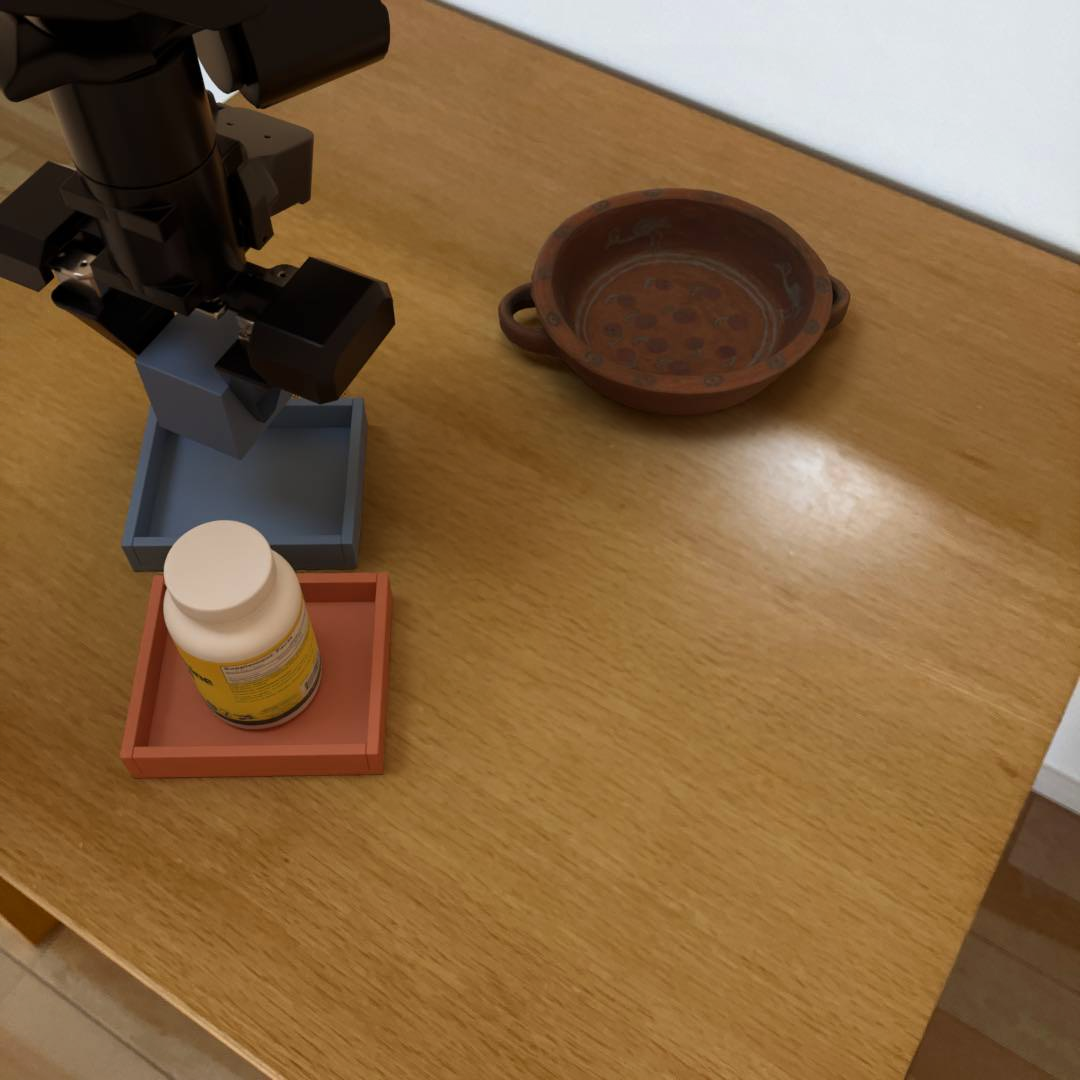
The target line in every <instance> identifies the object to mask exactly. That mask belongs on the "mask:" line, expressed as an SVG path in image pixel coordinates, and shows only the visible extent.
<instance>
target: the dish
mask: <svg viewBox="0 0 1080 1080" xmlns="http://www.w3.org/2000/svg"><path fill="white" fill-rule="evenodd" d="M530 278H531V279H530V280H531V281H528V282H526V283H523V284H520V285H518V286H515V287H514V288H513V289H511V290H510V291H508V292H506V294H505V295H504V296H503V297H502V298H501V300H500V302H499V305H498V308H497V315H498V319H499V320H498V324H499V327H500V329H501V332H502V333H503V334H504V336H505V337H506V338H507V340H508V341H509V342H510V343H511V344H513V345H515V346H516V347H518V348H519V349H521V350H523V351H526V352H530V353H533V354H539V355H543V356H547V357H552V358H556V359H559V360H562V361H563V362H565V364H567V365H568V366H569V367H570V368H571V370H573V371H574V373H575V374H576V375H578V376H579V377H580V378H581V379H582V380H583V381H584V382H585V383H586V384H588V385H589V386H590V387H592V388H593V389H594V390H595V391H597V392H598V393H600V394H601V395H603V396H605V397H607V398H609V399H610V400H612V401H614V402H616V403H619V404H621V405H624V406H627V407H630V408H633V409H636V410H640V411H642V412H643V411H644V412H648V413H654V414H658V415H659V414H660V415H661V414H662V415H670V416H693V415H703V414H704V415H705V414H711V413H715V412H718V411H722V410H726V409H729V408H732V407H735V406H737V405H739V404H741V403H743V402H745V401H747V400H749V399H751V398H753V397H754V396H756V395H758V394H759V393H761V392H762V391H763V390H764V389H766V388H767V387H768V386H770V385H771V384H772V383H773V382H775V381H776V380H777V379H778V378H779V377H780V376H781V375H782V374H783V373H784V372H785V371H787V370H789V369H790V368H792V367H793V366H795V364H797V363H798V362H799V361H801V360H802V359H803V358H804V357H805V356H807V355H808V353H810V351H811V350H812V349H813V348H814V347H815V346H816V344H817V343H818V341H819V340H820V338H821V337H822V335H823V334H824V333H827V332H829V331H832V330H834V329H835V328H837V327H838V326H839V325H840V324H841V323H843V321H844V319H845V317H846V314H847V312H848V309H849V306H850V302H851V293H850V291H849V289H848V288H847V286H846V285H845V284H844V282H842V281H841V280H840V279H839V278H837V277H835V276H834V275H832V274H831V273H829V270H828V268H827V267H826V264H825V263H824V261H823V260H822V259H821V257H820V256H819V254H818V253H817V252H816V251H815V250H814V248H813V247H811V245H810V244H809V243H808V242H807V241H806V240H805V238H803V236H802V235H800V234H799V232H797V231H796V230H795V229H794V228H793V227H792V226H790V225H789V224H788V223H786V222H785V221H784V220H783V219H781V218H780V217H779V216H777V215H775V214H774V213H773V212H771V211H768V210H765V209H763V208H761V207H759V206H757V205H755V204H753V203H750V202H748V201H746V200H743V199H741V198H738V197H736V196H732V195H728V194H725V193H721V192H719V191H713V190H708V189H699V188H683V187H661V188H650V189H649V188H648V189H641V190H640V189H639V190H633V191H629V192H624V193H620V194H616V195H613V196H610V197H608V198H607V197H606V198H603V199H600V200H598V201H596V202H593V203H591V204H590V205H588V206H586V207H584V208H582V209H580V210H578V211H576V212H575V213H573V214H572V215H570V216H569V217H567V218H566V219H564V220H563V221H562V222H561V223H560V224H559V225H558V226H557V227H556V228H555V229H553V231H552V232H551V233H550V234H549V235H548V236H547V238H546V240H545V241H544V242H543V244H542V246H541V247H540V250H539V252H538V254H537V257H536V260H535V263H534V267H533V270H532V271H531V277H530ZM525 309H535V312H536V315H537V316H538V318H539V320H540V322H541V323H542V326H541V327H538V328H537V327H536V328H533V327H529V326H526V325H524V324H522V323H521V322H518V321H517V320H516V319H514V315H515V314H517V313H518V312H519V311H522V310H525Z"/></svg>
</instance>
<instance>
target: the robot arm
mask: <svg viewBox="0 0 1080 1080" xmlns="http://www.w3.org/2000/svg"><path fill="white" fill-rule="evenodd" d="M390 22H391V20H390V13H389V9H388V7H387V6H386V4H385V3H383V2H382V0H0V92H1V94H2V95H3V96H4V98H5V99H6V100H7V101H9V102H11V103H21V102H24V101H26V100H28V99H31V98H35V97H36V96H39V95H42V94H44V93H47V96H48V98H49V102H50V104H51V107H52V109H53V112H54V115H55V117H56V120H57V123H58V125H59V128H60V130H61V133H62V136H63V138H64V142H65V144H66V146H67V149H68V151H69V154H70V157H71V159H72V162H73V165H74V167H73V166H71V165H67V164H63V163H59V162H55V161H51V160H47V161H46V162H45V163H43V164H42V165H41V166H40V167H39V168H38V169H37V170H35V172H33V174H31V175H30V176H29V177H28V178H27V179H25V181H23V182H22V183H21V184H20V185H19V186H18V187H17V188H16V189H14V190H13V191H12V192H11V193H10V194H9V195H8V196H6V197H5V198H4V199H3V200H2V201H1V202H0V278H1V279H4V280H6V281H8V282H11V283H14V284H16V285H19V286H22V287H24V288H27V289H29V290H31V291H34V292H37V293H40V292H41V291H42V290H43V289H45V288H46V287H47V286H48V285H49V284H50V283H51V282H52V281H53V280H54V279H55V278H57V280H58V282H59V284H58V285H57V286H56V287H55V288H54V289H53V290H52V291H51V293H50V299H51V301H52V303H53V304H54V305H55V306H56V307H57V308H58V309H61V310H63V311H65V312H67V313H69V314H70V315H72V316H73V317H74V318H76V319H78V320H79V321H80V322H82V323H83V324H85V325H86V326H88V327H89V328H91V329H92V330H94V332H96V333H98V334H99V335H100V336H102V337H103V338H105V339H106V340H107V341H109V342H110V343H112V344H114V346H116V347H118V348H119V349H120V350H122V351H123V352H125V353H126V354H127V355H129V356H130V357H131V358H132V359H134V360H135V359H136V358H137V357H138V356H139V355H140V354H141V353H142V351H143V350H144V349H145V348H146V347H147V346H148V345H149V344H150V343H151V342H152V341H153V339H154V338H155V337H156V336H157V335H158V334H159V333H160V332H161V331H162V330H163V329H164V327H165V326H166V325H167V324H168V323H169V322H170V321H171V320H172V319H173V318H174V317H175V315H176V314H177V313H179V314H181V315H184V316H186V317H188V316H189V315H190V314H191V313H192V312H196V313H198V314H201V315H203V316H206V317H208V318H211V319H215V320H217V319H220V318H221V317H222V316H223V315H224V314H225V313H226V312H227V310H230V311H232V312H235V313H238V314H237V315H236V318H237V322H238V326H239V327H240V328H242V329H244V330H241V331H240V332H239V333H238V338H237V339H236V341H235V342H234V343H233V344H232V345H231V346H230V348H229V349H228V350H227V351H226V352H225V353H224V355H223V356H222V357H221V358H220V359H219V360H218V362H217V363H216V364H215V365H214V367H215V369H216V371H217V372H218V373H219V374H220V376H221V377H222V378H223V380H224V381H225V382H226V383H227V384H228V386H229V387H230V388H231V390H232V391H233V392H234V393H235V395H236V396H237V397H238V399H239V400H240V401H241V403H242V404H243V405H244V406H245V408H246V409H247V410H248V411H249V412H250V413H251V414H252V415H253V416H254V417H255V419H256V420H257V421H259V422H262V423H265V422H266V421H267V420H268V419H269V418H270V416H271V415H272V414H273V413H274V411H275V409H276V406H277V403H278V399H279V395H280V392H281V389H282V390H284V391H287V392H289V393H292V394H293V396H294V395H295V396H297V397H298V398H304V399H307V400H309V401H312V402H314V403H317V404H319V405H321V404H325V403H329V402H333V401H337V400H338V399H339V398H342V395H343V394H344V393H345V392H346V391H347V389H348V387H350V385H351V384H352V383H353V381H354V380H355V378H356V377H357V376H358V375H359V373H360V372H361V371H362V369H363V368H364V367H365V365H366V364H367V363H368V361H369V360H370V359H371V358H372V356H373V355H374V353H375V352H376V351H377V350H378V348H379V347H380V346H381V344H382V343H383V341H384V340H385V339H386V337H388V335H389V334H390V333H391V331H392V330H393V329H394V327H395V326H396V317H395V316H396V315H395V306H394V300H393V296H392V295H393V294H392V292H391V290H390V286H389V283H388V282H386V281H383V280H380V279H379V278H376V277H373V276H370V275H367V274H366V273H363V272H359V271H356V270H354V269H351V268H348V267H346V266H343V265H340V264H337V263H334V262H332V261H329V260H326V259H323V258H319V257H314V256H308V257H307V259H306V260H305V261H304V262H303V263H302V265H301V266H300V267H297V266H295V265H293V264H288V263H281V264H276V265H274V266H272V267H269V268H267V267H264V266H262V265H258V264H256V263H253V262H251V261H249V260H247V257H246V253H247V252H249V250H250V249H253V250H256V251H261V250H262V249H263V248H264V247H265V246H266V245H267V243H268V242H269V241H270V240H271V239H272V238H273V237H274V236H275V233H274V228H273V223H272V217H274V216H276V215H278V214H280V213H282V212H284V211H286V210H287V209H289V208H291V207H294V206H295V205H298V204H299V205H302V206H303V205H304V204H307V203H308V202H310V200H311V198H312V185H313V183H312V182H313V166H314V165H313V163H314V147H315V146H314V145H315V134H314V132H313V131H312V130H310V129H309V128H307V127H304V126H302V125H298V124H296V123H292V122H289V121H287V120H283V119H281V118H278V117H274V116H271V115H269V114H266V113H263V112H260V111H257V110H259V109H260V110H265V109H268V108H271V107H274V106H275V105H278V104H281V103H283V102H285V101H287V100H290V99H292V98H295V97H297V96H299V95H302V94H304V93H307V92H309V91H312V90H314V89H317V88H319V87H321V86H324V85H326V84H329V83H331V82H333V81H337V80H338V79H341V78H343V77H345V76H348V75H350V74H353V73H355V72H358V71H360V70H363V69H364V68H367V67H369V66H372V65H374V64H377V63H379V62H381V61H382V60H384V59H385V57H386V56H387V54H388V52H389V48H390V43H391V23H390ZM201 65H202V66H201ZM201 67H202V68H203V69H204V71H205V73H206V75H207V76H208V78H210V80H211V82H212V83H213V84H214V85H215V87H216V88H217V89H218V90H219V91H220V92H221V93H223V94H225V95H230V94H232V93H235V92H238V91H239V93H240V94H241V95H242V97H243V98H244V99H245V100H246V101H247V102H248V103H249V104H250V105H252V106H253V107H255V109H257V110H254V109H251V108H247V107H240V106H239V107H238V106H231V105H229V104H226V103H223V102H220V101H218V102H217V100H216V98H215V95H214V93H213V92H212V91H211V90H210V89H207V88H206V85H205V81H204V77H203V73H202V69H201ZM55 275H56V276H55ZM175 313H176V314H175Z"/></svg>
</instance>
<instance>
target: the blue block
mask: <svg viewBox="0 0 1080 1080" xmlns="http://www.w3.org/2000/svg"><path fill="white" fill-rule="evenodd" d="M237 314H238V313H235V312H232V311H230V310H227V312H226V313H225V314H224V315H223V316H222V317H221V318H220V319H217V320H215V319H211V318H208V317H206V316H203V315H201V314H198V313H196V312H192V313H191V314H190V315H189V316H188V317H186V316H184V315H181V314H179V313H176V314H175V317H174V318H173V319H172V320H171V321H170V322H169V323H168V324H167V325H166V326H165V327H164V329H163V330H162V331H161V332H160V333H159V334H158V335H157V336H156V337H155V338H154V339H153V341H152V342H151V343H150V344H149V345H148V346H147V347H146V348H145V349H144V350H143V351H142V353H141V354H140V355H139V356H138V357H137V358H136V359H134V361H133V362H134V364H135V367H136V370H137V372H138V374H139V377H140V380H141V382H142V385H143V388H144V390H145V392H146V395H147V397H148V400H149V403H150V405H152V408H153V410H154V413H155V416H156V418H157V421H158V423H159V426H160V427H162V428H165V429H167V430H169V431H172V432H174V433H177V434H179V435H181V436H184V437H186V438H188V439H191V440H193V441H196V442H198V443H200V444H203V445H205V446H207V447H210V448H212V449H215V450H217V451H219V452H222V453H224V454H227V455H229V456H231V457H234V458H236V459H238V460H242V459H243V457H244V456H245V455H246V454H247V452H248V451H249V450H250V449H251V447H252V446H253V445H254V444H255V442H256V441H257V440H258V438H259V437H260V436H261V435H262V433H263V432H264V431H265V430H266V428H267V427H268V426H269V425H270V423H271V422H272V421H273V420H274V418H275V417H276V416H277V414H278V413H279V412H280V411H281V409H282V408H283V407H284V406H285V404H286V403H287V402H288V401H289V399H290V398H293V396H294V394H292V393H289V392H287V391H284V390H282V389H281V392H280V395H279V399H278V403H277V406H276V409H275V411H274V413H273V414H272V415H271V416H270V418H269V419H268V420H267V421H266V422H265V423H262V422H259V421H257V420H256V419H255V417H254V416H253V415H252V414H251V413H250V412H249V411H248V410H247V409H246V408H245V406H244V405H243V404H242V403H241V401H240V400H239V399H238V397H237V396H236V395H235V393H234V392H233V391H232V390H231V388H230V387H229V386H228V384H227V383H226V382H225V381H224V380H223V378H222V377H221V376H220V374H219V373H218V372H217V371H216V369H215V367H214V365H215V364H216V363H217V362H218V360H219V359H220V358H221V357H222V356H223V355H224V353H225V352H226V351H227V350H228V349H229V348H230V346H231V345H232V344H233V343H234V342H235V341H236V339H237V338H238V333H239V332H240V331H241V330H244V329H242V328H240V327H239V326H238V322H237V318H236V315H237Z"/></svg>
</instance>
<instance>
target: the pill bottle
mask: <svg viewBox="0 0 1080 1080" xmlns="http://www.w3.org/2000/svg"><path fill="white" fill-rule="evenodd" d="M296 574H297V573H296V572H295V569H293V568H292V567H291V566H290V564H289V563H288V562H287V561H286V560H285V559H284V558H283V557H282V556H281V555H279V554H278V553H277V552H275V551H273V550H272V549H271V548H270V546H269V543H268V542H267V540H266V539H265V538H264V536H263V535H262V534H261V533H260V532H258V531H257V530H256V529H254V528H253V527H251V526H249V525H247V524H244V523H241V522H237V521H230V520H219V521H212V522H208V523H205V524H202V525H199V526H197V527H195V528H193V529H191V530H190V531H188V532H187V533H185V534H184V535H183V536H181V537H180V538H179V539H178V540H177V541H176V542H175V544H174V545H173V546H172V548H171V549H170V551H169V553H168V555H167V558H166V561H165V565H164V570H163V575H164V580H165V584H166V587H167V589H166V593H165V597H164V607H163V611H164V619H165V622H166V626H167V629H168V631H169V633H170V635H171V637H172V639H173V641H174V643H175V645H176V647H177V649H178V651H179V653H180V655H181V656H182V659H183V661H184V663H185V664H186V667H187V668H188V670H189V672H190V674H191V676H192V678H193V680H194V682H195V684H196V686H197V688H198V690H199V692H200V694H201V696H202V698H203V699H204V701H205V703H206V705H207V706H208V707H209V709H210V710H211V711H212V712H213V713H214V714H215V715H216V716H217V717H218V718H219V719H221V720H223V721H224V722H226V723H228V724H230V725H233V726H236V727H239V728H244V729H264V728H270V727H274V726H277V725H280V724H282V723H285V722H287V721H289V720H290V719H292V718H294V717H295V716H296V715H298V714H299V713H300V712H302V711H303V710H304V709H305V708H306V707H307V706H308V704H309V703H310V702H311V701H312V699H313V697H314V696H315V694H316V692H317V689H318V687H319V684H320V680H321V675H322V662H321V657H320V652H319V648H318V645H317V641H316V638H315V635H314V631H313V628H312V625H311V622H310V618H309V615H308V611H307V608H306V604H305V601H304V597H303V594H302V591H301V587H300V584H299V581H298V578H297V576H296Z"/></svg>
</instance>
